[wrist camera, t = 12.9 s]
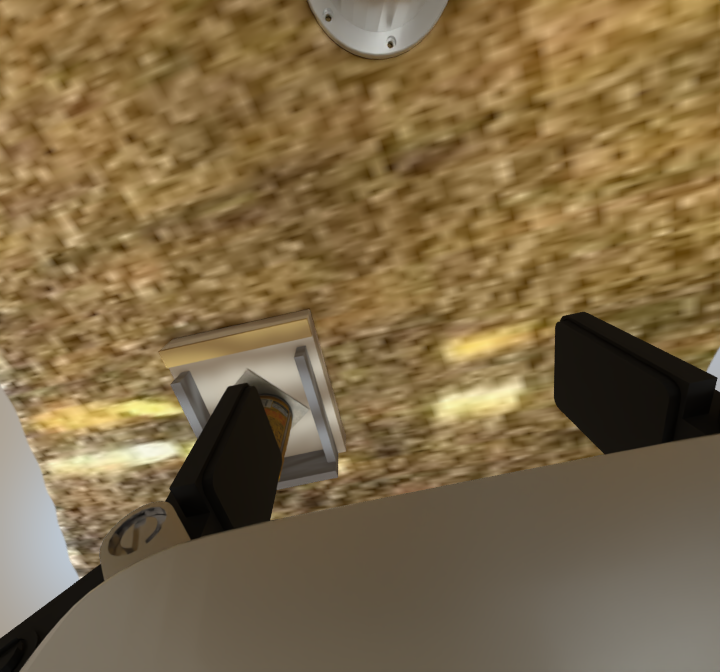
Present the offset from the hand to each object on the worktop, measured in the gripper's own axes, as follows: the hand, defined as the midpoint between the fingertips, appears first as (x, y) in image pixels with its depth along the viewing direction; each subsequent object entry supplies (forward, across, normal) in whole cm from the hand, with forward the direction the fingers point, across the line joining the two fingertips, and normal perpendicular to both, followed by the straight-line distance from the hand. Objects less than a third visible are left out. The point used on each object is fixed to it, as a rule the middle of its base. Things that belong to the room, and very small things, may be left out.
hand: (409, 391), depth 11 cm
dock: (+28, +15, +14) cm, 35 cm away
